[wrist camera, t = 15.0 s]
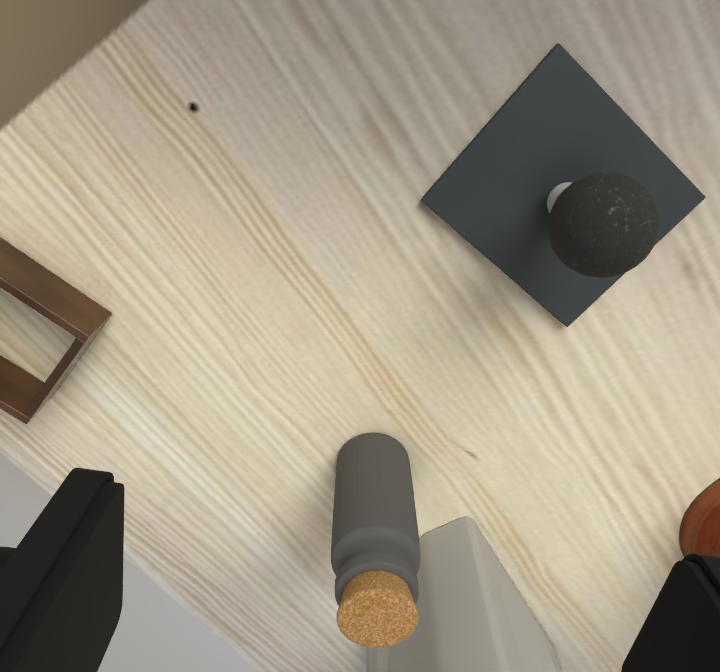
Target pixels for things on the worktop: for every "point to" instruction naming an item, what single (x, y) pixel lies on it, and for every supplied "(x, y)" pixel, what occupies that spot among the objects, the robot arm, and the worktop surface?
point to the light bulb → (602, 224)
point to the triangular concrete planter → (467, 613)
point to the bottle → (375, 542)
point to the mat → (550, 178)
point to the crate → (61, 305)
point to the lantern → (702, 524)
